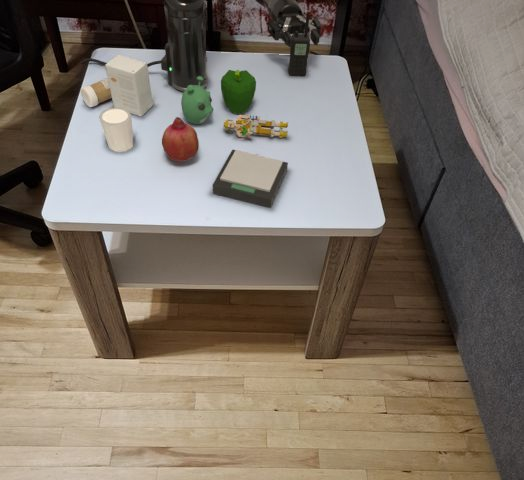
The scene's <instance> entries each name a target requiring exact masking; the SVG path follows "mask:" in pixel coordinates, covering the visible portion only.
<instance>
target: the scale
mask: <svg viewBox="0 0 524 480" xmlns="http://www.w3.org/2000/svg"><path fill="white" fill-rule="evenodd" d="M288 165H289V162H286V161H284V160H281V159H277V158H271V157H268V156H264V155H259V154H255V153H252V152H251V153H250V152H248V151H247V152H246V151H242V150H239V149H232V150H231V151H230V153H229V155H228V157H227V158H226V160H225V162H224V164H223V165H222V167H221V169H220V171H219V173H218V174H217V176H216V178H215V180H214V182H213V184H212V194H213V195H217V196H220V197H225V198H228V199H231V200H236V201H239V202H245V203H248V204H252V205H256V206H260V207H265V208H268V209H272V206H273V205H274V202H275V200H276V198H277V195H278V193H279V190H280V188H281V186H282V184H283V182H284V179H285V177H286V175H287V172H288V167H289V166H288Z"/></svg>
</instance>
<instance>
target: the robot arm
mask: <svg viewBox="0 0 524 480" xmlns="http://www.w3.org/2000/svg"><path fill="white" fill-rule="evenodd" d="M254 1H255V2H256V3H257V4H259V5H260V6H262V7H263V8H265V9H266V10H267V12H268V13H269V17H270V19H268V20H267V32H268V33H269V35H270V36H271V37H272V39H273V40H274V41H279V40H281V41H282V42H284V45H286V46H287V47H288V48H291V47H292V43H293V38H292V35H293V34H295V31H298V32H299V34H304V32H305V24H306V16H304V14H303V10H302V8H301V7H300V5H299V4H298V2H297V1H296V0H254ZM162 2H163V8H164V16H165V17H164V18H165V27H166V37H167V43H166V44H165V46H164V53H165V55H164V56H163V57H162V58H161V59H160V60H154V61H150V62H148V63H147V67H148V68H149V67H152V66H155V65H161V66H160V67H161V71H165V72H167V81H168V86H172V87H173V88H174V89H175V90H177V91H180V92H183V93H184V91H185V90H186V89H187V87H188V85H198V84H199V81H198V80H197V77H199V76H201V77H202V78H203V81H201V84H200V86H201V87H203V88H204V89H206V87H207V86H208V69H207V68H208V66H207V62H208V56H207V39H206V36H207V35H206V13H205V11H206V10H205V9H206V8H205V0H162ZM322 28H323V26H322V23H321V22H320V20H319V18H318V16H316V15H315V16H314V15H313V16H312V19H309V25H308V34H307V35H309V37H310V41H311V42H312V43H313V44H314V46H318V45H319V43H320V39H321V38H320V37H321V34H322ZM88 62H92V63H97V64H100V65H102V66H105V65H106V64H107V63H108V62H106V61H102V60H99V59H96V58H92V57H90V58H89V57H88V58H87V57H86V58H85V59H83V60H82V61H80V62H79V63H80V65H84V64H85V63H88Z"/></svg>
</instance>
